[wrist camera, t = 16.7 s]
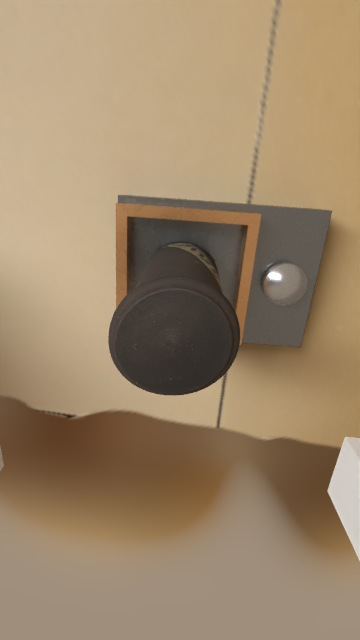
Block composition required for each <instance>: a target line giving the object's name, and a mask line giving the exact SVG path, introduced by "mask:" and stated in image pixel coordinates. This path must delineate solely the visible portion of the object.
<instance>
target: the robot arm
mask: <svg viewBox="0 0 360 640" xmlns="http://www.w3.org/2000/svg"><path fill="white" fill-rule="evenodd" d="M3 466H4V465H3V459H2V453H1V448H0V471H1V469H2V468H3ZM328 493H329V496H330V498H331V500H332V502H333V504H334V506H335V508H336V511H337V513H338V515H339V517H340V519H341V522H342V524H343V526H344V528H345V530H346V533H347V535H348V537H349V539H350V541H351V543H352V545H353V548H354V550H355V552H356V554H357V556H358V558H359V561H360V438H354V437H345V439H344V442H343V445H342V448H341V451H340V454H339V457H338V460H337V463H336V466H335V469H334V472H333V475H332V478H331V482H330V485H329V488H328Z"/></svg>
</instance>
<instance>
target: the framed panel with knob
mask: <svg viewBox="0 0 360 640" xmlns="http://www.w3.org/2000/svg"><path fill="white" fill-rule="evenodd" d="M331 214H332V211H329V210H321V209H309V208H295V207H282V206H268V205H254V204H241V203H227V202H213V201H200V200H186V199H172V198H159V197H145V196H132V195H118V203H116V309H117V307H118V305H119V304H120V302H121V301H122V300H123V298H124V297H125V296H126V295H127V294H128V293H129V292H130V291H132V290H133V289H134V288H135V287H136V285H137V283H138V281H139V280H140V278H141V276H142V274H143V272H144V270H145V268H146V266H147V264H148V262H149V260H150V258H151V257H152V255H153V254H154V253H155V252H156V251H157V250H158V249H159V248H160V247H162V246H164V245H166V244H168V243H172V242H177V241H185V242H191V243H194V244H196V245H198V246H200V247H202V248H203V249H205V250H206V251H207V252H208V253H209V254H210V255H211V257H212V258H213V259H214V261H215V264H216V267H217V270H218V274H219V279H220V283H221V288H222V291H223V295H224V296H225V297H226V298H227V299H228V300H229V302H230V303H231V305H232V306H233V308H234V310H235V312H236V314H237V317H238V321H239V326H240V344H239V345H241V343H252V344H265V345H278V346H291V347H301V343H302V339H303V335H304V330H305V326H306V322H307V317H308V313H309V309H310V304H311V300H312V296H313V292H314V287H315V283H316V279H317V274H318V270H319V266H320V261H321V257H322V253H323V248H324V244H325V240H326V235H327V231H328V227H329V222H330V218H331Z"/></svg>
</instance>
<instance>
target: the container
mask: <svg viewBox="0 0 360 640" xmlns="http://www.w3.org/2000/svg"><path fill="white" fill-rule="evenodd" d="M239 344H240V326H239V321H238V317H237V314H236V312H235V310H234V308H233V306H232V305H231V303H230V302H229V300H228V299H227V298H226V297H225V296H224V295H223V291H222V288H221V283H220V279H219V274H218V270H217V267H216V264H215V261H214V259H213V258H212V257H211V255H210V254H209V253H208V252H207V251H206V250H205V249H203V248H202V247H200V246H198V245H196V244H194V243H191V242H185V241H177V242H172V243H168V244H166V245H164V246H162V247H160V248H159V249H158V250H157V251H156V252H155V253H154V254H153V255H152V257H151V258H150V260H149V262H148V264H147V266H146V268H145V270H144V272H143V274H142V276H141V278H140V280H139V281H138V283H137V285H136V287H135V288H134V289H133V290H132V291H130V292H129V293H128V294H127V295H126V296H125V297H124V298H123V300H122V301H121V302H120V304H119V305H118V307H117V309H116V311H115V312H114V315H113V317H112V321H111V324H110V328H109V349H110V353H111V357H112V359H113V362H114V364H115V365H116V367H117V369H118V370H119V371H120V373H121V374H122V375H123V376H124V377H125V378H126V379H127V380H128V381H130V382H131V383H132V384H134V385H135V386H137V387H139V388H141V389H143V390H146V391H148V392H152V393H156V394H161V395H184V394H189V393H193V392H197V391H199V390H202V389H204V388H206V387H208V386H210V385H212V384H213V383H215V382H216V381H217V380H218V379H220V378H221V377H222V376H223V375H224V374H225V373H226V372H227V371H228V369H229V368H230V366H231V365H232V363H233V361H234V359H235V357H236V355H237V352H238V349H239Z"/></svg>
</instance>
